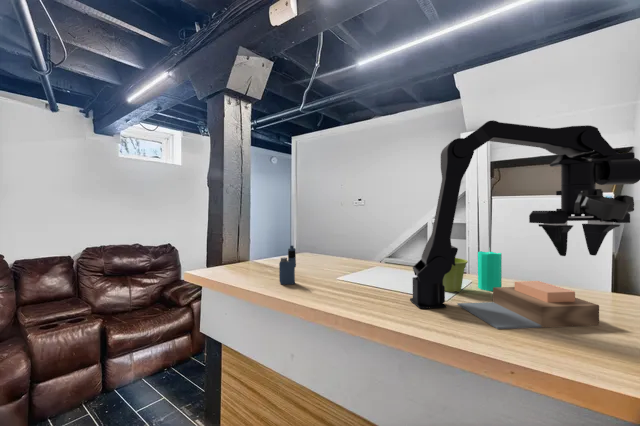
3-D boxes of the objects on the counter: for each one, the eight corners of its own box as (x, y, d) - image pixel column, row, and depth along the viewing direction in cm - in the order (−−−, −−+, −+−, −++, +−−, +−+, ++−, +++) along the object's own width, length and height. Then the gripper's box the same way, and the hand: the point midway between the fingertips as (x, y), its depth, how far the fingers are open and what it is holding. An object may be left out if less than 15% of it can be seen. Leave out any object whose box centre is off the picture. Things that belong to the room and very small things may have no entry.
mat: (497, 328, 55) (497, 326, 55) (457, 304, 69) (457, 303, 69) (541, 327, 55) (541, 325, 55) (493, 303, 69) (493, 302, 69)
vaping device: (295, 284, 89) (295, 246, 88) (278, 284, 89) (278, 246, 89) (296, 282, 91) (296, 245, 91) (280, 282, 91) (279, 245, 91)
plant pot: (469, 288, 83) (469, 258, 83) (466, 296, 75) (465, 263, 75) (435, 283, 88) (435, 256, 88) (429, 291, 80) (428, 260, 80)
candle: (505, 291, 79) (505, 248, 79) (481, 290, 80) (481, 248, 80) (496, 286, 85) (496, 246, 85) (474, 285, 86) (474, 245, 86)
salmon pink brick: (547, 302, 58) (547, 292, 58) (514, 290, 67) (514, 281, 67) (575, 301, 58) (575, 291, 58) (538, 289, 67) (538, 280, 67)
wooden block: (541, 327, 55) (541, 306, 55) (493, 303, 69) (493, 287, 69) (599, 325, 56) (599, 305, 56) (539, 302, 70) (539, 286, 70)
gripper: (573, 182, 54) (573, 263, 55) (662, 181, 56) (662, 261, 56) (527, 186, 66) (527, 254, 66) (601, 186, 67) (601, 252, 67)
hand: (578, 255), depth 63 cm, fingers open, 7 cm apart
